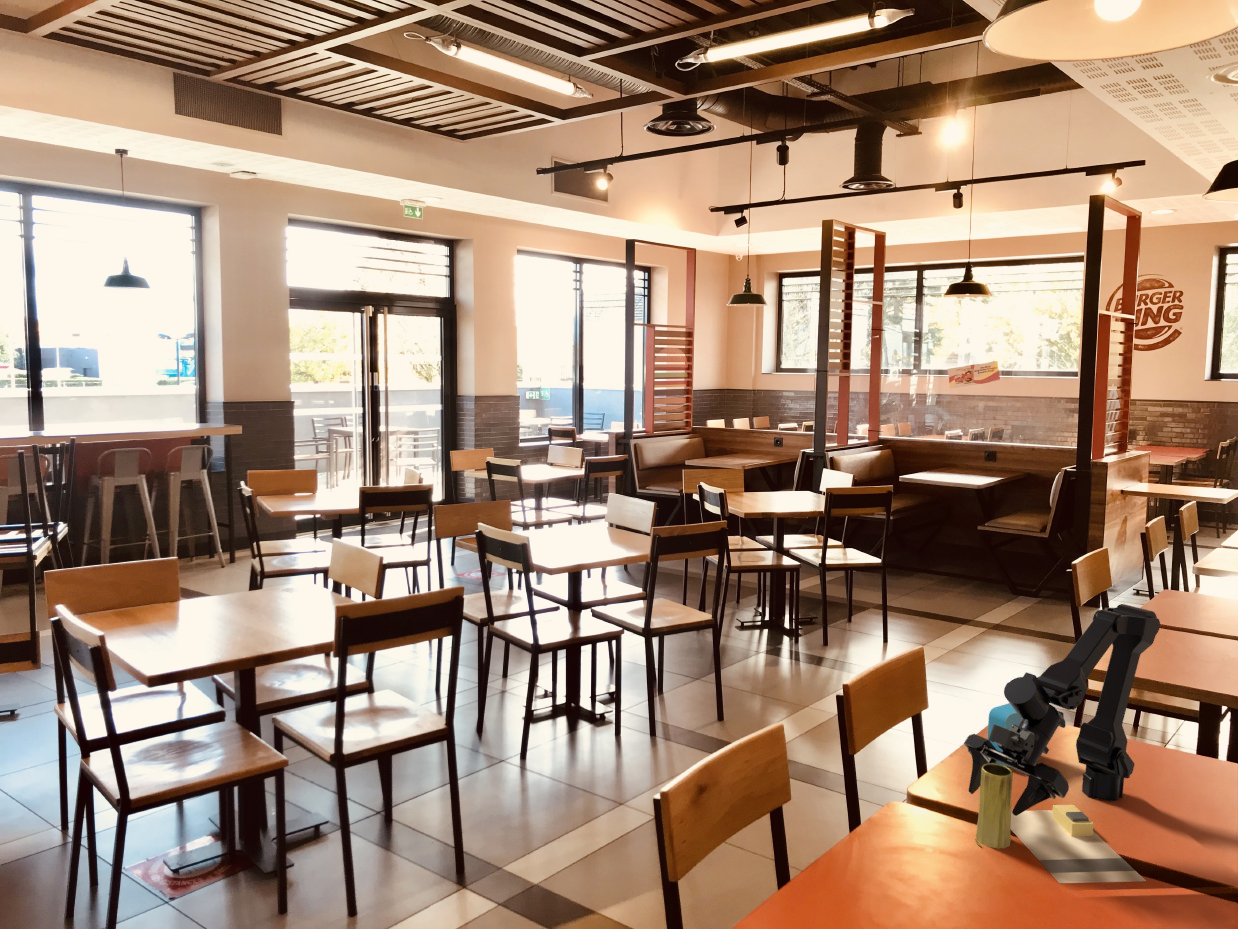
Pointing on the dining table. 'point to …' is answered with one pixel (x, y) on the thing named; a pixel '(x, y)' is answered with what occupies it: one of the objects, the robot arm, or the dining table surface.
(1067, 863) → the subfloor panel
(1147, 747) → the dining table surface
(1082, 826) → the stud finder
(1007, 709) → the blue rounded block
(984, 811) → the vase
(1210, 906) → the dining table surface
